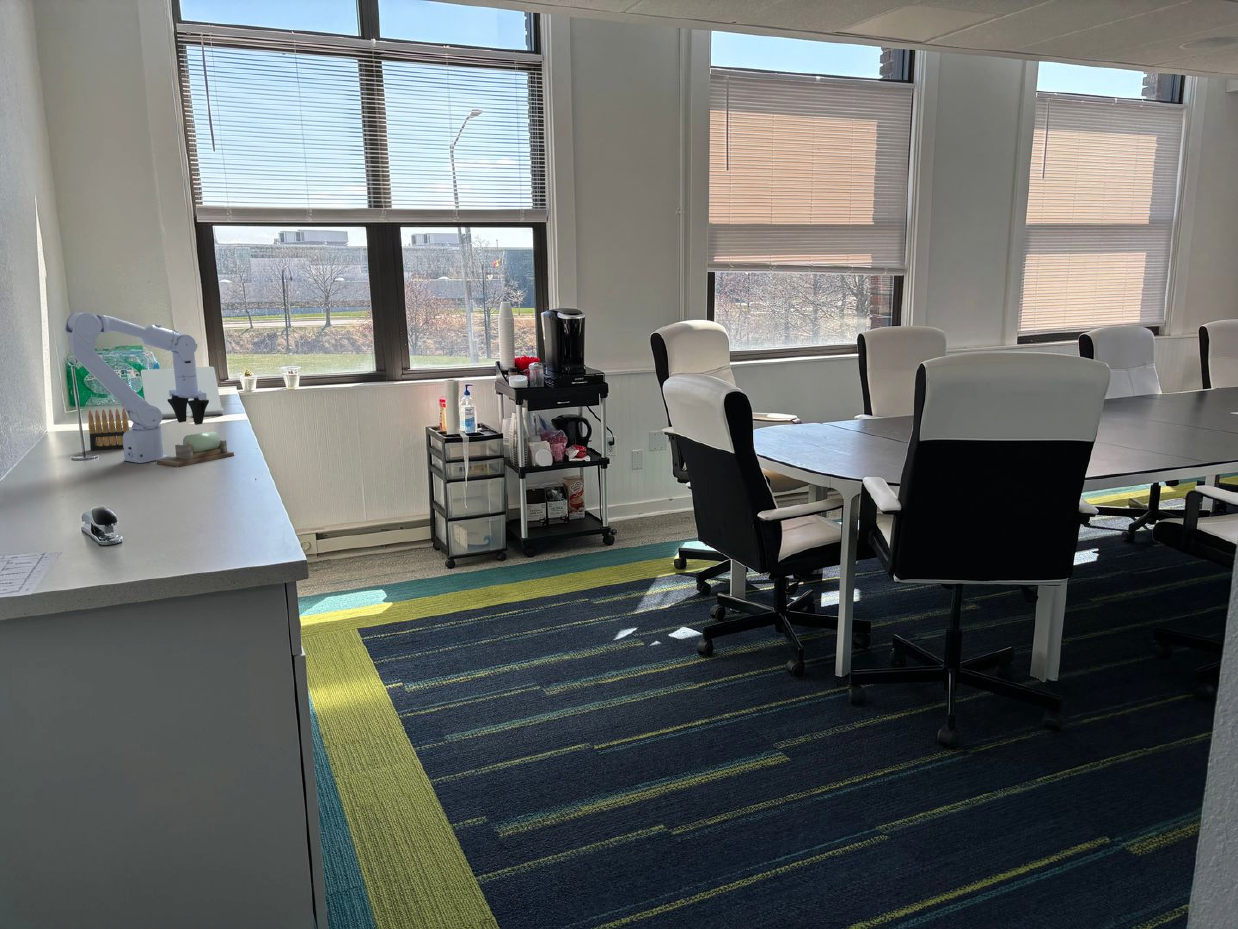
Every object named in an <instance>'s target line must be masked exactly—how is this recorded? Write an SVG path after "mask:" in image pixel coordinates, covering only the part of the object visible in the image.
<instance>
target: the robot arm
mask: <svg viewBox="0 0 1238 929" xmlns="http://www.w3.org/2000/svg"><path fill="white" fill-rule="evenodd" d="M64 327H65V328H64V331H65V333H66V336H67V340H68V344H69V350H70V354H71V355H72V356H73V358H74V359H75V360H76V361H77V362H78V363H79V364H80V365H81V366H82V367H83V368H85V369H86V371H87V372H89V374H91V376H93V377H94V379H96V380H97V382H98V383H99V384H100V385H102V387H103V388H105V389H106V390H107V392H109V393H110V394H111V395H112V396H113V398H115V399H116V400H117V402H118V403H120V405H121V406H122V409H123V408H124V409H125V411H126V414H127V417H128V418H129V420H130V422H132V426H131V429H129V431H127V432H125V433H124V434H123V448H124V449H123V456H124V457H123V458H122V461H126V462H132V463H138V464H142V463H143V464H144V463H147V462H148V463H149V462H154V461H157V460H159V459H164V458H170V457H172V456H171V455H168V454H164V446H163V435H162V434H163V433H162V427H161V423H162V421H163V419H162V413H161V411H160V410H159V409H158V408H157V407H155V406H152V405H150V404H149V403H147V402H146V401H145V398H143V397H142V396H140V395H139V394H138V393H137V392H136V391H135V389H134V390H133V388H132V387H131V386H130V385H129V384H128V383H127V382H126V381H125V380H124V379H123V378H122V377H121V376H120V375H119V374H118V373H117V372H116V371H115V370H114V369H113V368H112V367H111V366H110V365H109V364H108V363H107V362H106V361H105V360H104V359H103V358H102V357H101V356H100V355H99V354H98V353H97V352H96V350H95V349H96V343H97V342H96V340H97V339H98V337H99V335H100V333H107V332H111V331H112V332H116V333H121V334H123V335H129V336H131V337H136V338H139V339H141V340H142V341H143V343H144V344H145V345H146V346H150V347H154V348H158V349H160V350H165V351H171V352H172V361H173V362H172V363H173V368H174V374H175V384H176V390H169V397H172V399H168V402H169V404H170V405H171V406H172V408H173V410H174V412H175V415H176V417H177V418H176V419H177V422H178V424H179V423H187V418H188V417H187V413H186V410H187V403H188V404H189V406H190V408H191V411H192V415H193V417H192V420H193V423H194V425H196V426H199V425H203V422H204V418H205V416H204V413H205V410H206V407H207V405H208V403H209V400H207V395H206V393H204V392H201V390H198V384H197V373H196V367H197V364H196V357H195V353H196V351H197V349H198V343H196V340H195V338H193V337H192V336H191V335H189V334H183V333H180V331H179V330H176V329H173V330H172V329H168V328H164V327H162V325H161V324H158V323H155V324H149V325H147V326H141V325H138V324H135V323H131V322H129V321H126V320H123V319H119V318H117V317H113V316H110V315H102V314H94V313H92V312H82V311H76V312H72V313H71V314H70V315H68V317H67V319H66V323H65V326H64ZM189 398H190V399H194V400H190V401H188V399H189Z"/></svg>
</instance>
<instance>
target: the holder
mask: <svg viewBox="0 0 1238 929" xmlns="http://www.w3.org/2000/svg"><path fill="white" fill-rule="evenodd" d="M174 447H175V448H174V449H175V456H171V457H170V458H164V459H159V460H156V464H158V465H164V466H170V467H177V468H179V467H184V466H188V465H194V464H199V463H203V462H204V463H205V462H210V461H213V460H214V461H215V460H218V459H219V460H220V459H224V458H230V457H233V456H235V452H234V451H228V445H227V440H225V439H220V445H219V447H218V448H217V449H213V450H207V451H202V452H197V453H193V448H192V446H185V445H183V444H174Z"/></svg>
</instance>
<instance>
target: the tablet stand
mask: <svg viewBox="0 0 1238 929" xmlns="http://www.w3.org/2000/svg"><path fill="white" fill-rule="evenodd" d="M196 373H197V384H198V390H201V392H204V393H206V395H207V400H209V403H208V405H207V407H206V410H205V413H204V417H205V416H206V417H207V416H216V415H217V416H220V414H221V415H223V414H224V407H222V403H221V399H220V398H221V397H220V393H219V392H220V390H219V385H218V381H217V375H216V370H215V367H214V366H196ZM140 377H141V383H142V390H143V395H144V396H143V397H144V398H143V399H144V400H145V401H146V402H147V403H149V404H150V405H152V406H155V407H157V408H158V409H159V410H160V411H161V413H162V420H163V419H164V418H165V419H177V417H176V415H175V412H174V410H173V408H172V406H171V405H170V404H169V402H168V399H172V397H169V390H176V384H175V374H174V367H173V368H170V367H169V368H151V369H148V368H147V369H141V370H140ZM190 400H194V399H190V398H189V399H188V401H190ZM186 413H187V418H193V415H192V411H191V408H190V406H189V404H188V403H187V410H186Z"/></svg>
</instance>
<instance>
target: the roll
mask: <svg viewBox="0 0 1238 929" xmlns="http://www.w3.org/2000/svg"><path fill="white" fill-rule="evenodd" d="M220 440H221V439H220V436H219V435H218V433H217V432H216V431H213V430H212V431H206V432H200V433H194V434H188V435H185V436H184V437H183V440H182V445H185V446H192V448H193V453H197V452H202V451H207V450H213V449H217V448H218V447H219V445H220Z"/></svg>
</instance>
